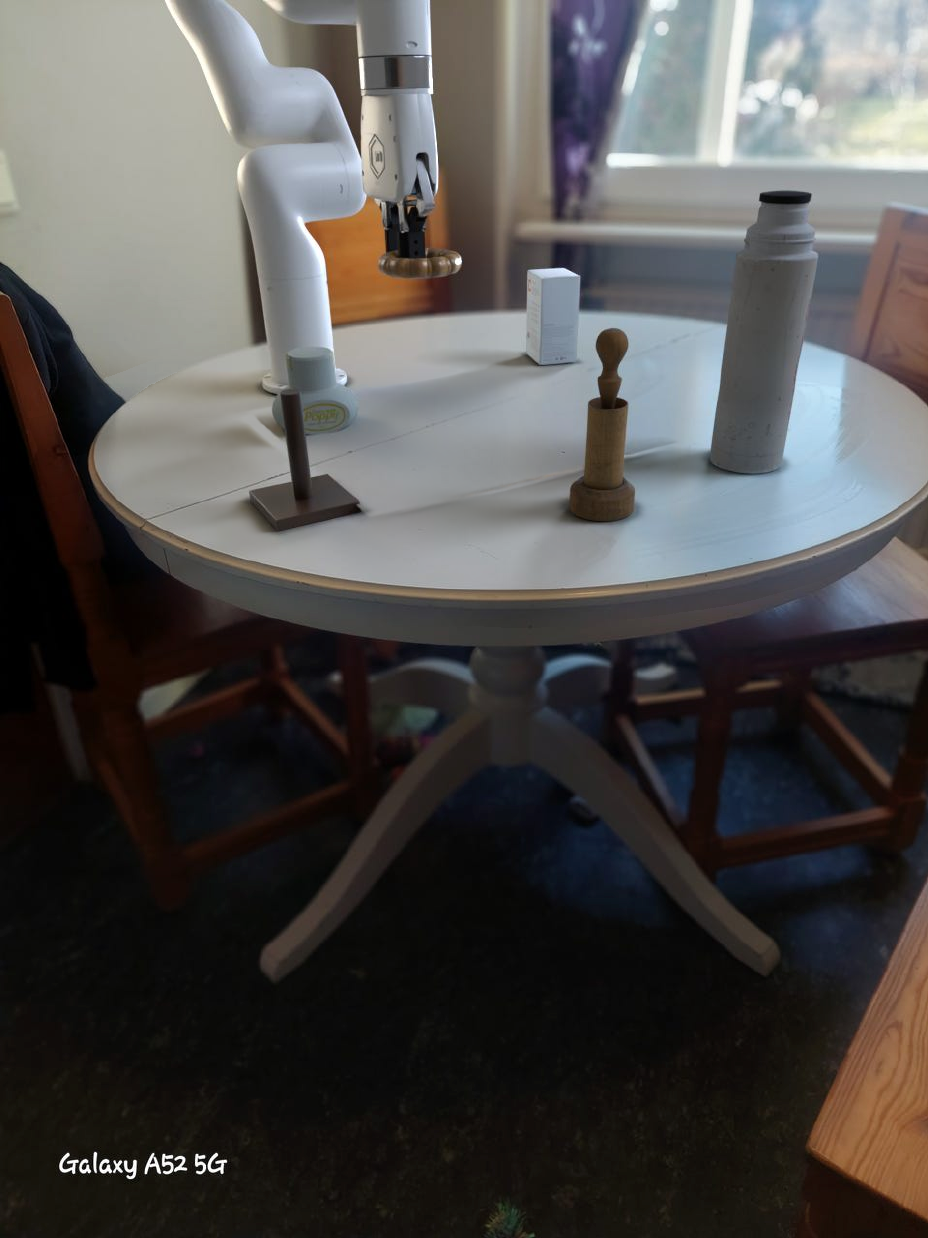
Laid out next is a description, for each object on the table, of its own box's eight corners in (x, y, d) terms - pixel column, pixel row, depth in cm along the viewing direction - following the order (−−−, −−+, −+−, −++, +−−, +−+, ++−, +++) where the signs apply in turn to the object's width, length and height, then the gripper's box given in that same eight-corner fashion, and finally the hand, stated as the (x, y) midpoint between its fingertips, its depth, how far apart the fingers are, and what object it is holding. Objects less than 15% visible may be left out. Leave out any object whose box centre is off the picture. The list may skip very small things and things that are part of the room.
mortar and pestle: (592, 527, 86) (603, 340, 77) (556, 504, 91) (563, 326, 82) (646, 512, 88) (663, 331, 79) (609, 491, 93) (621, 318, 84)
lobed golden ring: (365, 270, 99) (364, 252, 98) (436, 262, 103) (436, 244, 101) (402, 283, 92) (401, 262, 91) (476, 273, 96) (476, 254, 95)
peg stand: (250, 500, 93) (232, 387, 87) (328, 483, 97) (316, 374, 91) (277, 531, 87) (260, 411, 80) (360, 511, 90) (350, 395, 84)
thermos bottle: (777, 450, 103) (823, 187, 88) (784, 475, 96) (835, 195, 82) (708, 447, 104) (742, 187, 90) (710, 471, 98) (747, 195, 83)
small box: (577, 362, 138) (581, 275, 131) (539, 365, 137) (541, 277, 130) (561, 350, 145) (564, 266, 138) (524, 353, 143) (526, 269, 137)
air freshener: (352, 416, 117) (346, 340, 112) (366, 435, 111) (359, 355, 105) (271, 426, 114) (260, 348, 109) (280, 446, 108) (269, 365, 103)
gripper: (332, 81, 95) (347, 262, 104) (398, 76, 83) (409, 281, 92) (394, 80, 98) (403, 255, 107) (466, 75, 86) (470, 274, 95)
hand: (406, 266), depth 100 cm, fingers closed on lobed golden ring, 2 cm apart
